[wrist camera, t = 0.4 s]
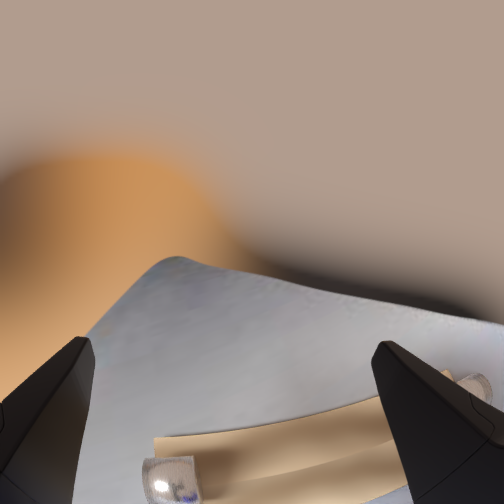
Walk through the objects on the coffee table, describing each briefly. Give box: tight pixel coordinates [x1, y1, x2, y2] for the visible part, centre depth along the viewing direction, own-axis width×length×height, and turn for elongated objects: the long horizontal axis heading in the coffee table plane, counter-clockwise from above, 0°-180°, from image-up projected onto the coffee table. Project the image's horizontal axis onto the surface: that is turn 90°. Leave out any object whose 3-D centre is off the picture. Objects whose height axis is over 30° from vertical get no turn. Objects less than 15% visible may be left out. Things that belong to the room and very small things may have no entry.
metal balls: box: [142, 373, 492, 504], centre depth 17 cm, size 4×25×4 cm, turn 101°
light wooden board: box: [154, 369, 455, 504], centre depth 18 cm, size 8×25×1 cm, turn 101°
